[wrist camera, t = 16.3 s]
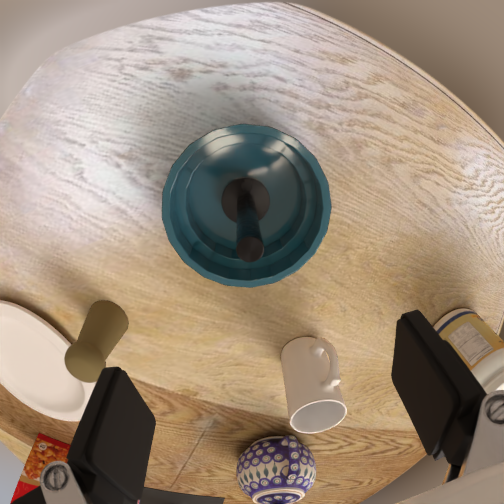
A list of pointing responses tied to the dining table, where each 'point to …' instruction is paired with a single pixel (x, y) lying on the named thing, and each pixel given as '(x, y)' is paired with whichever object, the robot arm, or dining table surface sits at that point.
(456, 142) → the dining table surface
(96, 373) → the olive pawn
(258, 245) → the black post stand
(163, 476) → the dining table surface
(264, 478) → the teapot
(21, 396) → the plate
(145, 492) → the architectural model
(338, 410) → the mug
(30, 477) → the pasta box
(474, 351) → the supplement tub
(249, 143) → the bowl
